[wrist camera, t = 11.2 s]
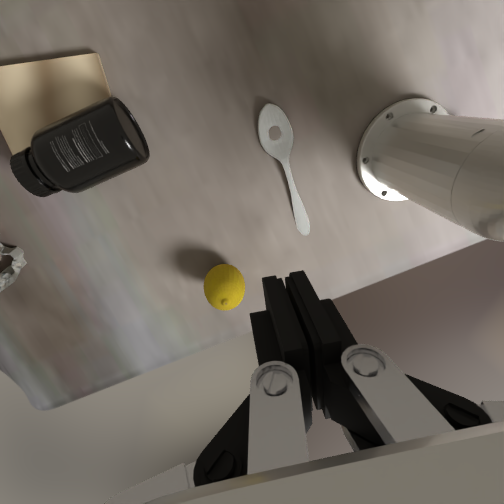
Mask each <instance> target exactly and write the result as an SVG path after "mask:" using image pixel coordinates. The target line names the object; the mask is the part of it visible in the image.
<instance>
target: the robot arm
mask: <svg viewBox="0 0 504 504" xmlns="http://www.w3.org/2000/svg"><path fill="white" fill-rule="evenodd" d="M387 115H388V116H387ZM386 116H387V118H386ZM363 158H364V160H363ZM357 170H358V174H359V177H360V180H361V181H362V183H363V185H364V186H365V188H366V189H367V190H368V191H369V192H371V193H372V194H374V195H375V196H377V197H379V198H381V199H384V200H388V201H401V200H407V199H409V200H411V201H413V202H415V203H417V204H419V205H421V206H423V207H425V208H427V209H428V210H430V211H432V212H434V213H436V214H438V215H440V216H442V217H444V218H446V219H448V220H449V221H451V222H453V223H455V224H457V225H459V226H461V227H463V228H465V229H467V230H469V231H471V232H473V233H475V234H477V235H479V236H482V237H484V238H488V239H491V240H496V241H504V120H501V119H489V118H477V117H465V116H453V115H449V114H448V112H447V111H446V110H445V109H444V108H443V107H442V106H441V105H440V104H438V103H436V102H434V101H432V100H428V99H423V98H412V99H405V100H402V101H399V102H396V103H394V104H392V105H391V106H389V107H387V108H386V109H384V110H383V111H382V112H381V113H380V114H378V115H377V116H376V117H375V119H374V120H373V121H372V122H371V123H370V124H369V126H368V128H367V129H366V131H365V132H364V134H363V137H362V139H361V141H360V144H359V148H358V152H357ZM262 282H263V289H264V297H265V304H266V310H265V311H260V312H254V313H250V319H251V324H252V330H253V336H254V341H255V347H256V353H257V358H258V363H259V367H258V368H257V369H256V370H255V371H254V373H253V374H252V377H251V384H250V394H249V396H248V397H247V398H246V399H245V400H244V401H243V403H242V404H241V405H240V406H239V407H238V409H237V410H236V411H235V413H234V414H233V415H232V416H231V417H230V418H229V420H228V421H227V422H226V423H225V425H224V426H223V427H222V428H221V429H220V431H219V432H218V433H217V435H215V437H214V438H213V439H212V440H211V442H210V443H209V444H208V445H207V447H206V448H205V449H204V450H203V451H202V453H201V454H200V456H199V457H198V459H197V461H195V462H194V463H191V464H189V465H187V466H185V464H184V463H182V464H180V465H178V466H176V467H174V468H171V469H169V470H167V471H165V472H163V473H161V474H159V475H156V476H154V477H152V478H150V479H148V480H146V481H143V482H141V483H139V484H137V485H135V486H133V487H131V488H129V489H126V490H124V491H122V492H120V493H118V494H116V495H114V496H113V497H111V498H110V499H108V500H107V501H106V502H105V503H104V504H504V401H482V402H481V405H477V404H475V403H474V402H471V401H470V400H468V399H466V398H464V397H461V396H459V395H456V394H454V393H451V392H449V391H446V390H444V389H441V388H439V387H436V386H433V385H431V384H429V383H426V382H424V381H421V380H419V379H416V378H414V377H411V376H409V375H406V374H404V373H403V372H402V371H401V370H400V369H399V368H398V367H397V366H396V365H395V364H394V362H393V361H392V360H391V359H390V358H389V357H388V356H387V355H386V354H385V353H384V352H383V351H382V350H380V349H378V348H376V347H374V346H370V345H366V344H357V342H356V340H355V339H354V337H353V335H352V334H351V332H350V330H349V329H348V327H347V325H346V323H345V322H344V320H343V318H342V317H341V315H340V313H339V312H338V310H337V309H336V307H335V305H334V304H333V302H332V300H331V299H324V300H319V298H318V296H317V294H316V292H315V291H314V289H313V287H312V285H311V283H310V281H309V279H308V278H307V276H306V274H305V272H304V271H303V270H302V271H297V272H291V273H290V274H289V277H285V284H286V288H285V285H284V283H283V280H282V278H278V279H277V278H276V276H269V277H264V278H262ZM312 398H313V401H314V404H315V406H316V409H317V410H320V409H322V410H323V413H324V416H325V419H328V418H331V419H332V420H333V421H335V422H337V423H339V424H340V425H341V428H342V431H343V433H344V435H345V437H346V439H347V441H348V442H349V444H350V446H351V448H352V449H353V451H354V452H351V453H346V454H341V455H337V456H332V457H327V458H323V459H319V460H313V461H309V455H308V447H307V440H306V433H307V431H308V430H309V428H310V426H311V425H312V412H311V411H312V410H313V408H312Z"/></svg>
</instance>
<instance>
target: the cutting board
mask: <svg viewBox="0 0 504 504" xmlns="http://www.w3.org/2000/svg"><path fill="white" fill-rule="evenodd" d="M107 97H112V96H111V93H110V89H109V86H108V83H107V80H106V76H105V73H104V70H103V67H102V63H101V60H100V57H99V54H97V53H92V54H84V55H77V56H70V57H63V58H56V59H49V60H42V61H35V62H28V63H20V64H13V65H6V66H0V130H1V132H2V134H3V136H4V138H5V140H6V142H7V144H8V146H9V148H10V150H11V152H12V154H13V155H14V154H16V153H18V152H20V151H22V150H23V149H25V148H27V147H30V143H31V138H32V136H33V134H34V133H35V132H36V131H37V130H39V129H41V128H43V127H45V126H47V125H49V124H51V123H53V122H55V121H57V120H60V119H62V118H64V117H66V116H68V115H70V114H72V113H74V112H76V111H79V110H81V109H83V108H85V107H87V106H89V105H91V104H93V103H95V102H98V101H100V100H102V99H104V98H107Z"/></svg>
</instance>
